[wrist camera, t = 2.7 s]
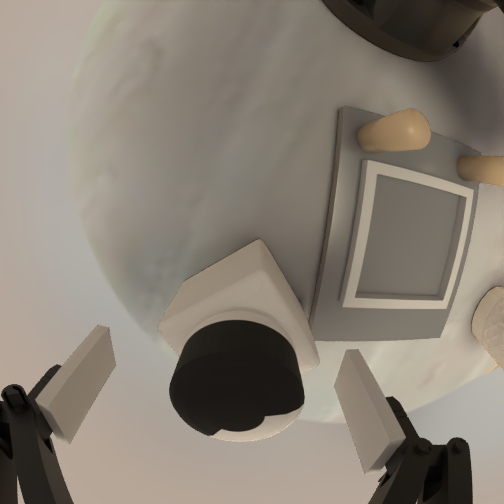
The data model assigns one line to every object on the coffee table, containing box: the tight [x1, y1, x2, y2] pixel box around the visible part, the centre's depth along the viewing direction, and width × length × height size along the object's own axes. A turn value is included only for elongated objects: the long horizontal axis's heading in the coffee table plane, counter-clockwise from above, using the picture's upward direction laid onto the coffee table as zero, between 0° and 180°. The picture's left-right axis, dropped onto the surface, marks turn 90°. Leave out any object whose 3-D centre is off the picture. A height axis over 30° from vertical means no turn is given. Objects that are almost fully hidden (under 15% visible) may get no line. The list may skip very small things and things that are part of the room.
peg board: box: [309, 106, 504, 341], centre depth 17 cm, size 18×14×7 cm
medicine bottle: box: [158, 239, 320, 442], centre depth 16 cm, size 7×7×12 cm
